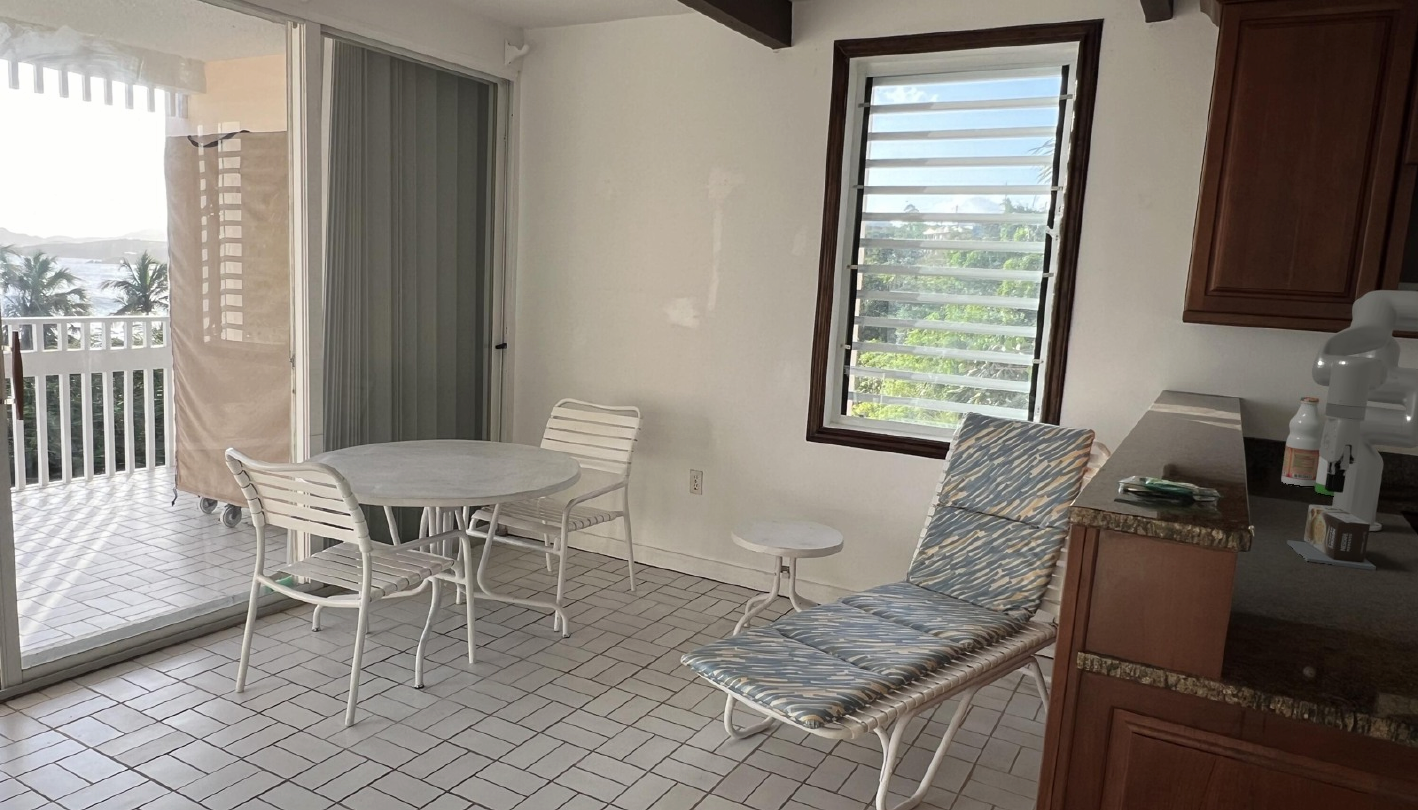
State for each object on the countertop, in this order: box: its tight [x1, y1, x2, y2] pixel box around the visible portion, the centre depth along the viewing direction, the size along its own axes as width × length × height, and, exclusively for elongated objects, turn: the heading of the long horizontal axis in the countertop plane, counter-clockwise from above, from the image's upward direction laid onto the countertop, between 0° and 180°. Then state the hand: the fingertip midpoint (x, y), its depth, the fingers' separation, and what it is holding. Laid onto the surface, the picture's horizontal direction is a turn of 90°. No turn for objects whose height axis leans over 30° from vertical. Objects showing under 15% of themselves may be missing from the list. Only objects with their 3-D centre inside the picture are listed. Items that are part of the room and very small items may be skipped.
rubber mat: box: [1286, 539, 1377, 571], centre depth 208 cm, size 16×13×1 cm
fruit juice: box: [1280, 396, 1324, 487], centre depth 289 cm, size 9×9×28 cm
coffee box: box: [1303, 504, 1370, 562], centre depth 209 cm, size 9×6×16 cm
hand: (1333, 491), depth 209 cm, fingers closed
